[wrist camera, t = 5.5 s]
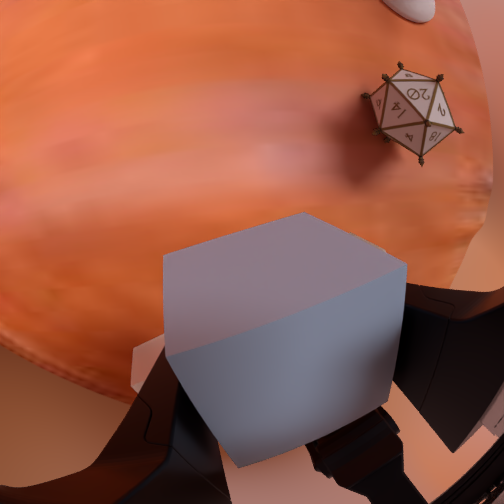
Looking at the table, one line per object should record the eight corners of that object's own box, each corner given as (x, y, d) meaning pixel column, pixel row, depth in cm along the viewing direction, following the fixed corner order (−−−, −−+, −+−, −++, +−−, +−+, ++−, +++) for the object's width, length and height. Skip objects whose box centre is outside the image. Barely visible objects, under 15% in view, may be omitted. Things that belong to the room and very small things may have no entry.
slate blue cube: (318, 323, 12) (387, 401, 7) (207, 364, 11) (238, 468, 6) (304, 211, 10) (407, 263, 5) (163, 255, 9) (165, 356, 4)
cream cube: (205, 361, 26) (215, 399, 21) (162, 380, 25) (165, 418, 20) (179, 325, 23) (184, 363, 19) (133, 347, 23) (130, 386, 18)
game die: (352, 128, 26) (361, 162, 18) (362, 52, 20) (379, 51, 13) (428, 148, 24) (462, 191, 17) (444, 77, 19) (490, 93, 11)
